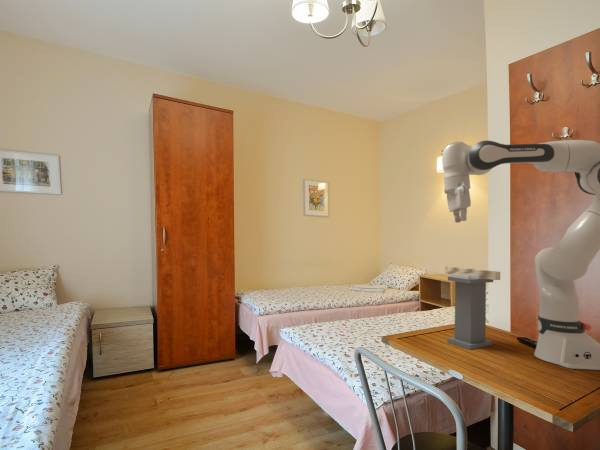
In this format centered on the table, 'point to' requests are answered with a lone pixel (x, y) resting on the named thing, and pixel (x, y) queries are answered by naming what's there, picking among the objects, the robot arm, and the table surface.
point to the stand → (470, 311)
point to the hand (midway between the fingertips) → (460, 221)
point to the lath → (474, 272)
